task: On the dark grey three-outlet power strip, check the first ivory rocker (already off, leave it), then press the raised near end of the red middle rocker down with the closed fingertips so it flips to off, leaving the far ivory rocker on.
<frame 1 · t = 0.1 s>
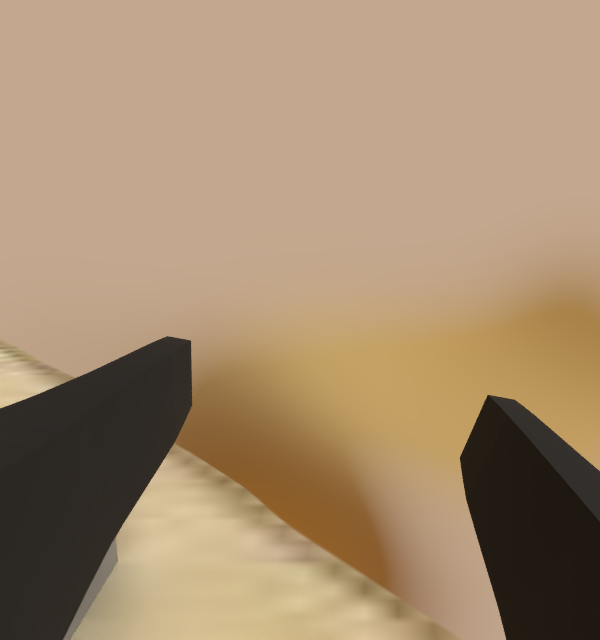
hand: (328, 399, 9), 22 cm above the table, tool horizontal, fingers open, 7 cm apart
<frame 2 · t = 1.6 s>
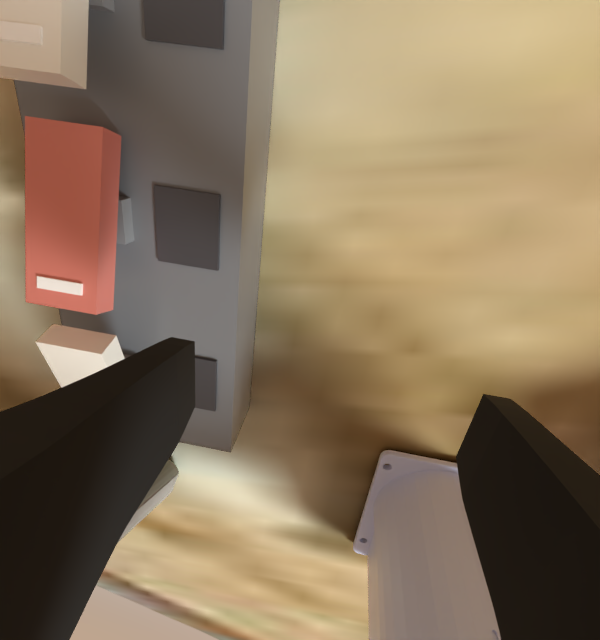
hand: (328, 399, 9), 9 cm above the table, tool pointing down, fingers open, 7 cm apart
power strip: (178, 204, 17), on the table
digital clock: (83, 463, 27), on the table
rocker 1: (98, 388, 16), point 5 cm above the table, hinge at -15.0°
rocker 2: (71, 220, 13), point 5 cm above the table, hinge at 15.0°
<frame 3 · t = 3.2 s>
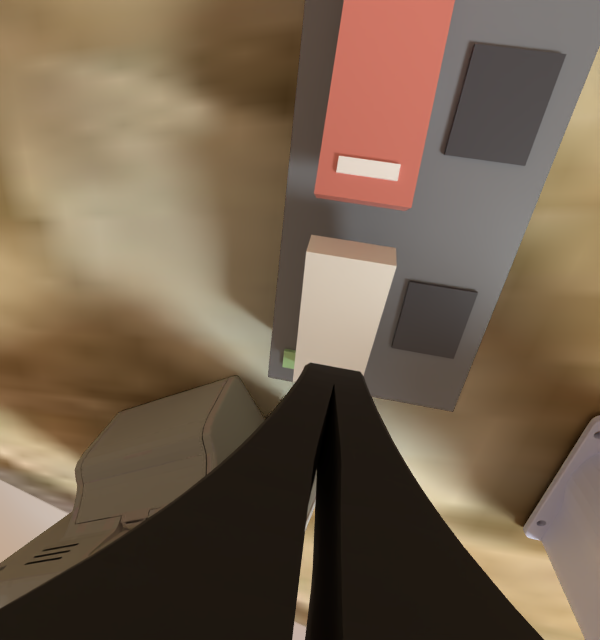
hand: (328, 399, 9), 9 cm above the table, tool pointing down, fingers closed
power strip: (414, 106, 14), on the table
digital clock: (210, 440, 24), on the table
rocker 1: (337, 324, 13), point 5 cm above the table, hinge at -15.0°
rocker 2: (382, 83, 10), point 5 cm above the table, hinge at 15.0°
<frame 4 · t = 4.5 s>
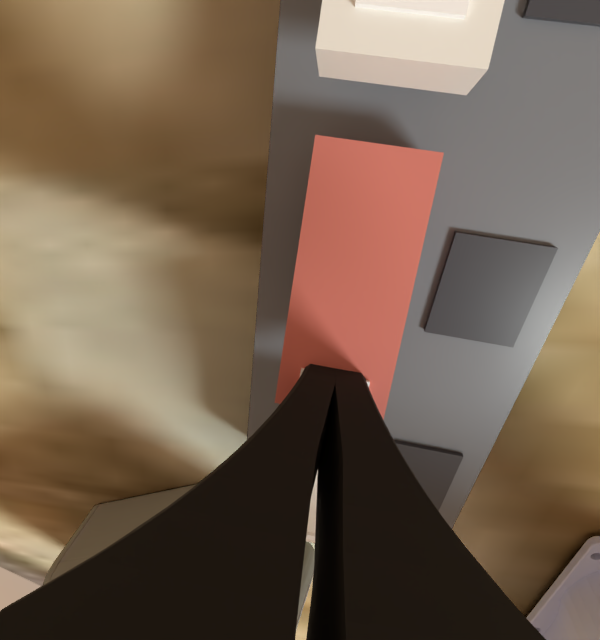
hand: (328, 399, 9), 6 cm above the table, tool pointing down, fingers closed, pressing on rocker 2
power strip: (396, 242, 13), on the table
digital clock: (190, 533, 23), on the table
rocker 1: (309, 493, 12), point 5 cm above the table, hinge at -15.0°
rocker 2: (350, 286, 9), point 5 cm above the table, hinge at 14.5°, touching gripper
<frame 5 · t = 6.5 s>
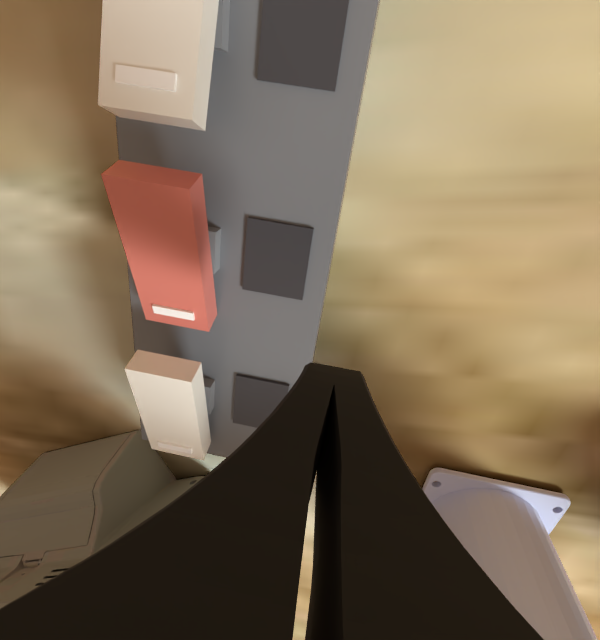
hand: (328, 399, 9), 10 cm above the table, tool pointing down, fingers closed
power strip: (249, 228, 17), on the table
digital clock: (124, 479, 28), on the table
rocker 1: (173, 411, 16), point 5 cm above the table, hinge at -14.7°
rocker 2: (169, 258, 13), point 5 cm above the table, hinge at -18.7°
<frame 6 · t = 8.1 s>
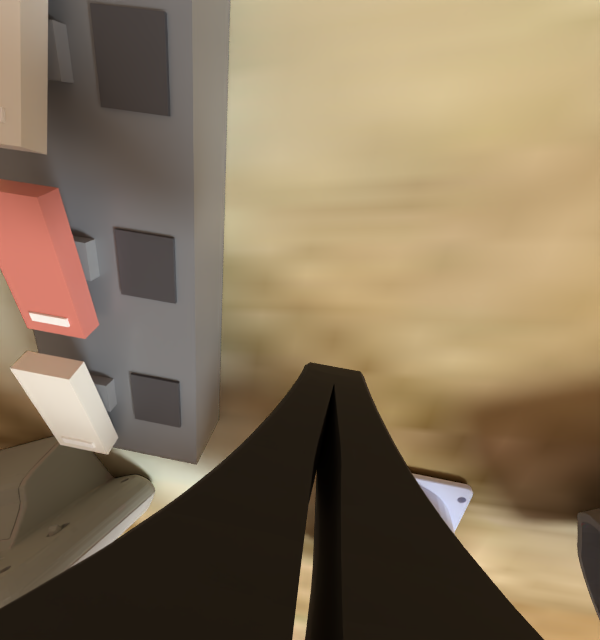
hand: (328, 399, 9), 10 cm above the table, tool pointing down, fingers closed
power strip: (146, 237, 19), on the table
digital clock: (66, 478, 29), on the table
rocker 1: (70, 408, 18), point 5 cm above the table, hinge at -14.3°
rocker 2: (40, 266, 14), point 5 cm above the table, hinge at -10.2°
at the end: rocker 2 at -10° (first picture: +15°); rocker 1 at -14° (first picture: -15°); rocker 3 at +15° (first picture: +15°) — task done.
